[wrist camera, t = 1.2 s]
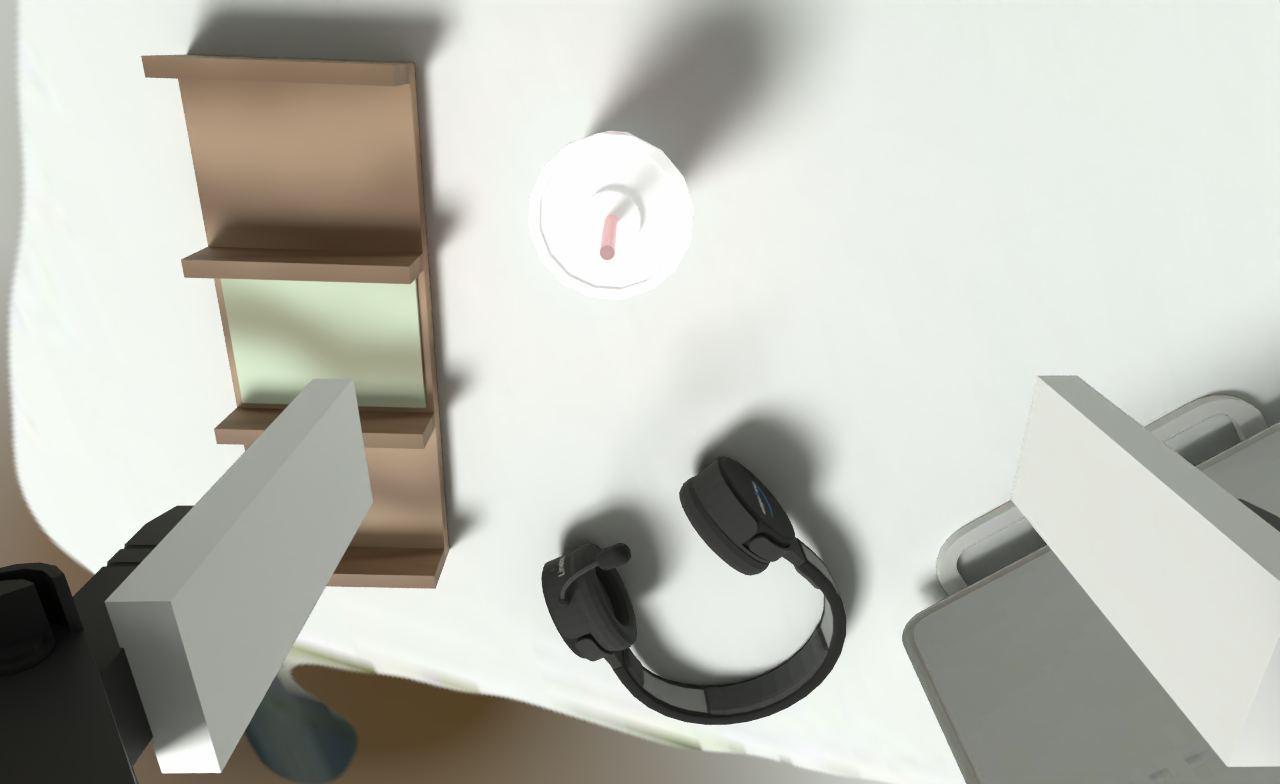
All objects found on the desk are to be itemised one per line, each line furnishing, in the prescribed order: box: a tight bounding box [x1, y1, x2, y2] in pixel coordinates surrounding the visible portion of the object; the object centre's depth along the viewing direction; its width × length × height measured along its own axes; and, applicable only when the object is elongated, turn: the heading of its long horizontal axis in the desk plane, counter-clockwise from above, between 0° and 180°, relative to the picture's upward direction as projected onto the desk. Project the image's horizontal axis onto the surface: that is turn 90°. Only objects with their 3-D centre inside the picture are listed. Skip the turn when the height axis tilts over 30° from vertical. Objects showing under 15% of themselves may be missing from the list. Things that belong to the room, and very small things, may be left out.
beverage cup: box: [529, 131, 694, 300], centre depth 31 cm, size 6×6×14 cm
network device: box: [902, 395, 1280, 784], centre depth 36 cm, size 26×9×20 cm, turn 125°
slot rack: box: [141, 55, 449, 588], centre depth 39 cm, size 26×10×4 cm, turn 178°
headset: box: [542, 457, 846, 725], centre depth 43 cm, size 14×10×20 cm
